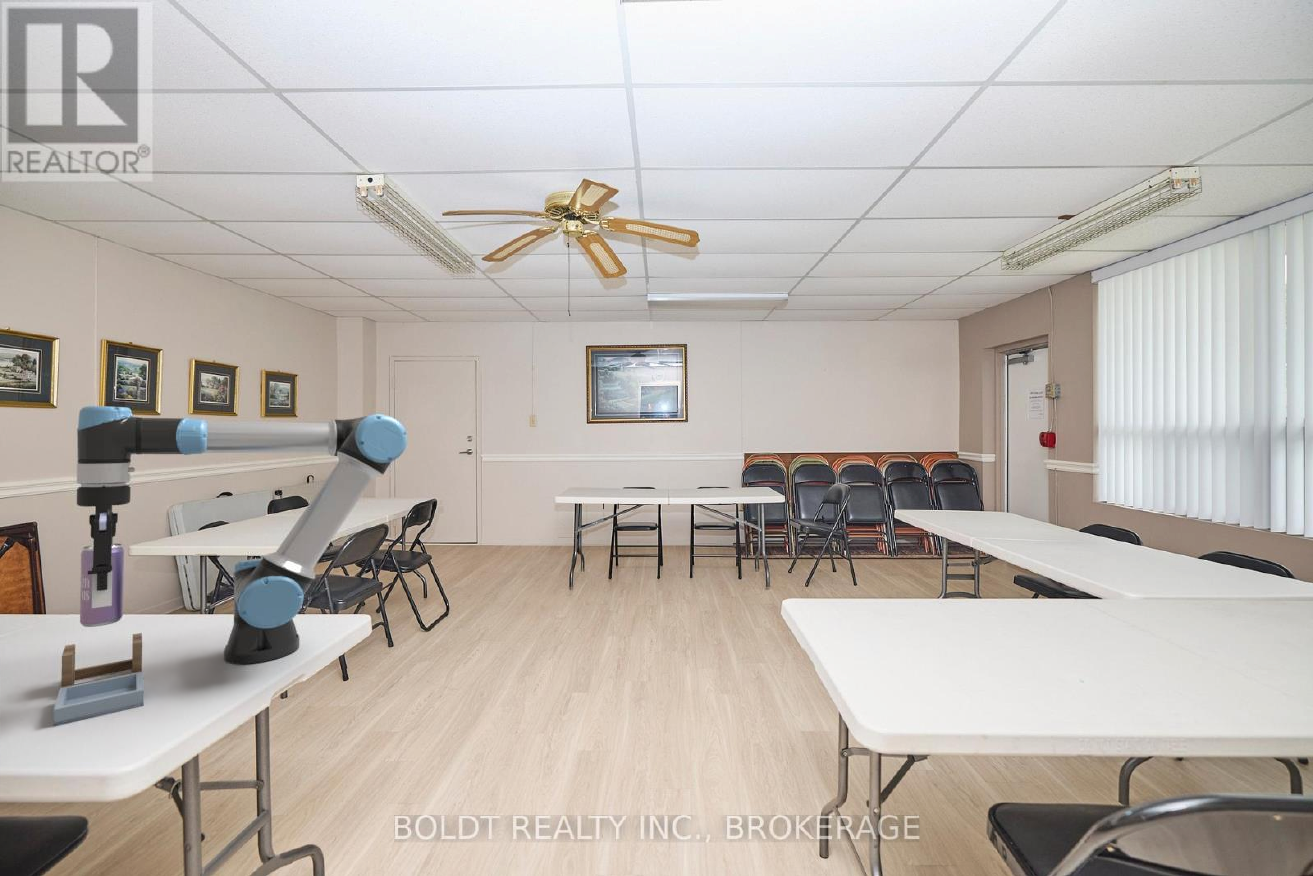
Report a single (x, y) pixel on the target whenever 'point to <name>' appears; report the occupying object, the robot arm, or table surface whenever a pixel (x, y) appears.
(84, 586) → the beverage can
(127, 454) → the robot arm
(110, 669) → the bracket
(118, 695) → the tray
